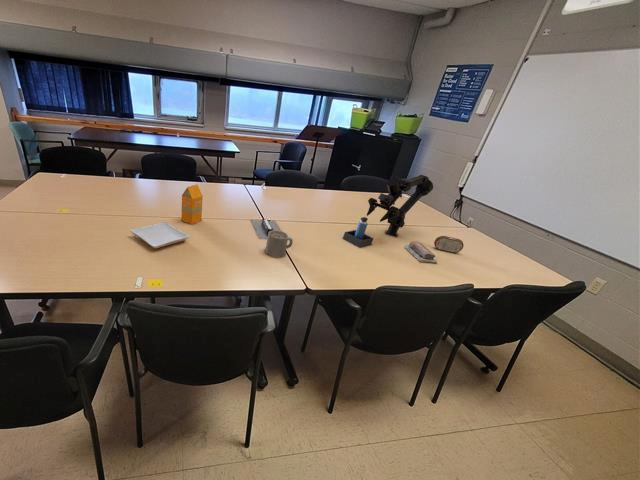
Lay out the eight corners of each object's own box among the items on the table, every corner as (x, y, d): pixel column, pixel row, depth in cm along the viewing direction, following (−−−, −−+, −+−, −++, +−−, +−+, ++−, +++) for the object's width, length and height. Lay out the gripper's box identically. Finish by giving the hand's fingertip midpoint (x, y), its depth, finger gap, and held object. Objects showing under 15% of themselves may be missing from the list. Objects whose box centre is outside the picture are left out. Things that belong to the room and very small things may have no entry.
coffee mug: (267, 256, 154) (270, 238, 149) (263, 247, 162) (266, 229, 157) (293, 258, 156) (297, 239, 151) (288, 249, 165) (292, 231, 159)
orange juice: (201, 220, 184) (203, 186, 173) (191, 224, 177) (192, 188, 166) (191, 216, 187) (192, 182, 176) (181, 220, 180) (181, 185, 169)
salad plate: (190, 241, 158) (190, 235, 157) (154, 252, 145) (154, 246, 143) (165, 227, 170) (165, 221, 168) (129, 236, 156) (129, 229, 154)
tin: (458, 252, 187) (465, 240, 182) (459, 255, 184) (467, 242, 180) (431, 246, 190) (437, 233, 186) (432, 248, 188) (438, 235, 183)
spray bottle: (356, 238, 186) (364, 215, 179) (363, 241, 183) (371, 219, 176) (351, 239, 184) (358, 216, 176) (357, 242, 181) (365, 219, 173)
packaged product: (407, 239, 182) (423, 241, 183) (404, 247, 185) (420, 248, 185) (423, 254, 167) (441, 255, 168) (419, 262, 169) (436, 263, 170)
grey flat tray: (259, 238, 172) (260, 231, 170) (251, 220, 192) (252, 213, 190) (284, 239, 175) (286, 232, 172) (274, 221, 195) (275, 215, 193)
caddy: (354, 235, 191) (356, 229, 189) (371, 244, 182) (373, 238, 180) (342, 238, 185) (344, 231, 183) (359, 247, 177) (362, 240, 175)
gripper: (375, 183, 181) (357, 204, 181) (404, 193, 168) (384, 215, 168) (379, 196, 189) (361, 215, 189) (407, 206, 176) (388, 227, 177)
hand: (373, 218), depth 181 cm, fingers open, 9 cm apart
